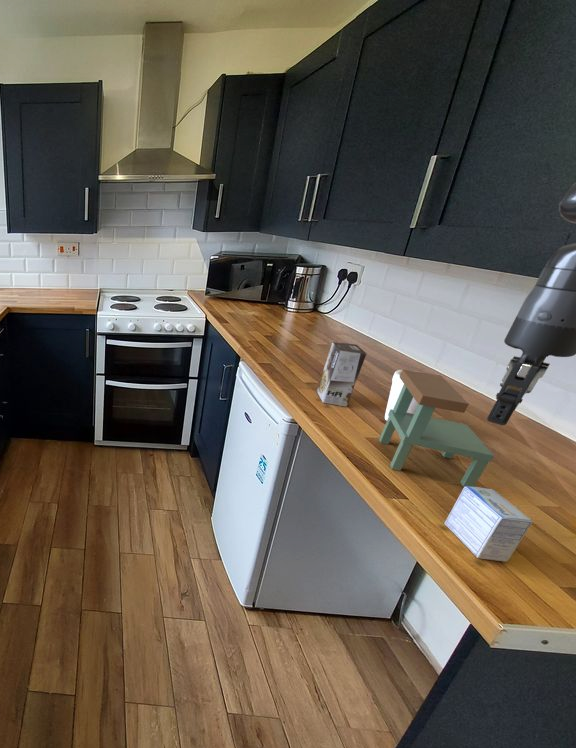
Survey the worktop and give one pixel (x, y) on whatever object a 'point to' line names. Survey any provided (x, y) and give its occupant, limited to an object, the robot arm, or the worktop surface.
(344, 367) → the coffee box
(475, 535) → the medicine box
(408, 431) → the step stool
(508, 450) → the worktop surface
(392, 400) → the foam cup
